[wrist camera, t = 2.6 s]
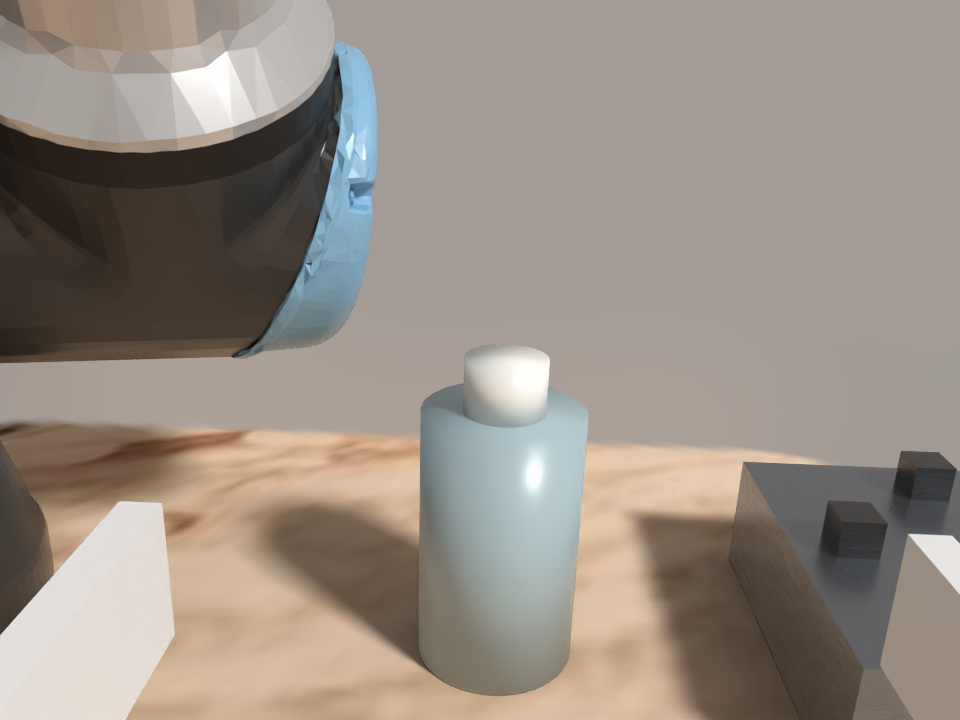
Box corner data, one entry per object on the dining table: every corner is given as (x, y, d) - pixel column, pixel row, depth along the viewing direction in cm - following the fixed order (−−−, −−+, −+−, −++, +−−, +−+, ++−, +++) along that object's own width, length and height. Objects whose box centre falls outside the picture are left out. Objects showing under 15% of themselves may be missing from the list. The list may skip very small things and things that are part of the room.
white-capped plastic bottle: (410, 691, 32) (413, 385, 28) (424, 595, 37) (428, 328, 33) (575, 699, 32) (601, 393, 28) (564, 601, 37) (585, 335, 33)
